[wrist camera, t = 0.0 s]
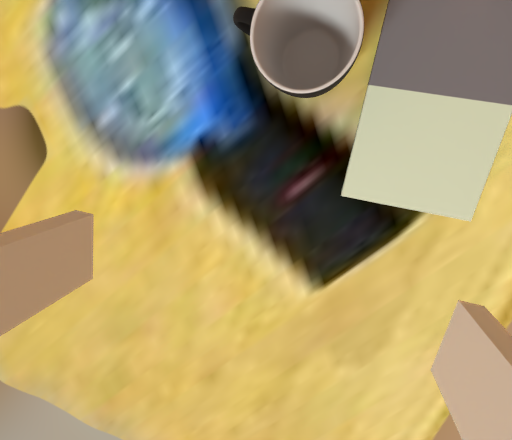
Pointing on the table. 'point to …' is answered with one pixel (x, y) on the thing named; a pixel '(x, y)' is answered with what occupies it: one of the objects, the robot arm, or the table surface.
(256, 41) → the mug
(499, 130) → the mat
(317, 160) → the table surface
